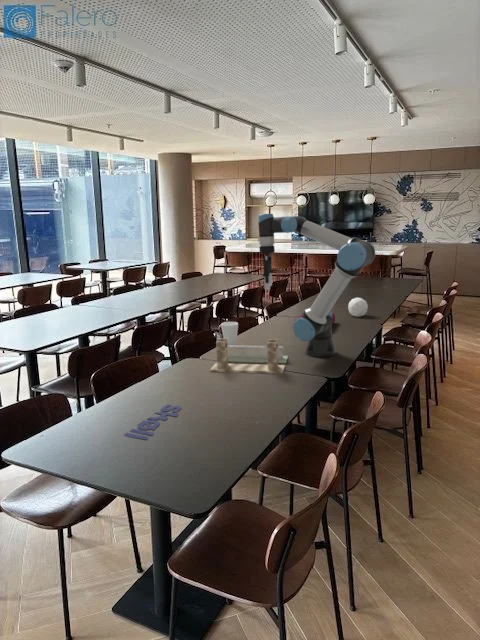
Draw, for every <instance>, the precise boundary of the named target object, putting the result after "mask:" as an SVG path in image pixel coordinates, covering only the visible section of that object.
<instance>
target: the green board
mask: <svg viewBox="0 0 480 640" xmlns="http://www.w3.org/2000/svg"><path fill="white" fill-rule="evenodd" d="M288 359H289V355H283V359H278V364H287V362H288ZM228 363H254V364H257V363H258V364H259V363H260V364H268V359H240V358H228Z"/></svg>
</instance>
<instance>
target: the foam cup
mask: <svg viewBox="0 0 480 640" xmlns="http://www.w3.org/2000/svg"><path fill="white" fill-rule="evenodd" d="M220 326H221V332H222V338H228V345H237V340H238V330H239V323H238V322H237V321H224V322H222V323H221V324H220Z"/></svg>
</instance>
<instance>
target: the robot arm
mask: <svg viewBox="0 0 480 640" xmlns="http://www.w3.org/2000/svg"><path fill="white" fill-rule="evenodd" d="M257 220H258V222H257V225H258V239H257V241H258V243H259V245H260V246H259V254H263V257H262V260H263V274H262V277H264V278H263V279H264V282H263V284H264V290H267V291H268V290H271V287H272V286H273V273H274V271H273V269H272V254H274V253H275V249H276V248H275V234H277V233H279V234H281V233H282V234H285V233H286V234H289V233H294V232H295V233H296V234H299V235H302V236H304V237H307V238H309V239H311V240H313V241H316V242H318V243H320V244H323V245H325V246H328V247H330V248H332V249H334V250H337V255H336V256H337V257H336V261H335V262H334V266H335V268H334V270H333V271H332V273H331V274H330V276H329V278H328V280H327V281H326V283H325V284H324V285H323V287H322V289H321V290H320V292H319V293H318V295H317V297H316V298H315V300H314V301H313V303H312V305H311V307H307V308H305V310H304V311H303V312H304V313H303V312H302V314H301V315H302V316H301V317H300V318H298V317H297V318H298V319H297V318H296V319H297V320H296V319H295V320H296V321H295V320H294V322H293V325H292V330H293V334H294V335H295V337H296V338H297V339H298V340H300V341H302V342H307V343H306V347H305V354H307V355H308V356H311V357H318V358H324V357H332V356H334V355H335V354H336V347H335V344H334V340H333V325H332V313H333V312H332V311H331V310H332V308H333V307H334V306H335V304H336V303H337V301H338V299H339V298H340V296H341V295H342V294H343V292H344V291H345V289H346V288H347V286H348V285H349V283H350V281H351V280H352V279H353V278H357V277H358V276H359V274H360V273H361V271H362V270H363V268H364V267H367V266H369V265H370V264H372V263H373V261H374V259H375V258H376V250H375V247H374V246H373V244H372V243H371V242H369V241H367V240H363V239H360V238H359V237H355V236H354V237H349V236H347V235H344V234H342V233H339V232H337V231H334V230H332V229H330V228H328V227H325V226H322V225H320V224H317V223H315V222H313V221H309V220H308V219H306V218H305V217H304V216H301V215H296V216H290V215H289V216H287V215H286V216H278V217H276V216H275V217H274V214H273V213H260V214H259V215H258V219H257Z"/></svg>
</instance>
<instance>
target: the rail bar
mask: <svg viewBox="0 0 480 640" xmlns="http://www.w3.org/2000/svg"><path fill="white" fill-rule="evenodd" d="M283 356H284V346H283V345H282V346H281V345H278V359H283ZM228 358H240V359H268V354H267V345H241V344H240V345H239V344H236V345H228Z"/></svg>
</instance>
